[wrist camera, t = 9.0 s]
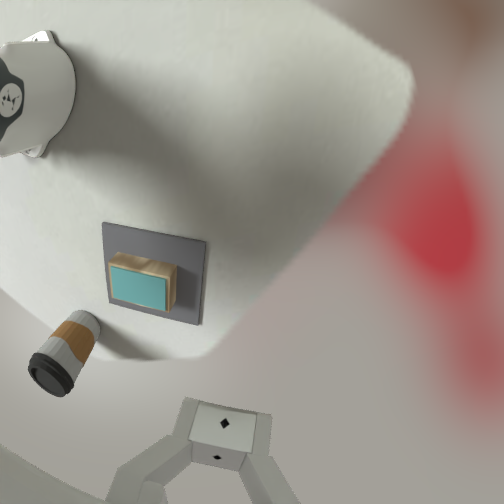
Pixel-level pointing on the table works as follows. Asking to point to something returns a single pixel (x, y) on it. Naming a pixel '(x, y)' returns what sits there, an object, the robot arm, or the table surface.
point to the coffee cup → (65, 353)
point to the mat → (165, 250)
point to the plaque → (143, 281)
